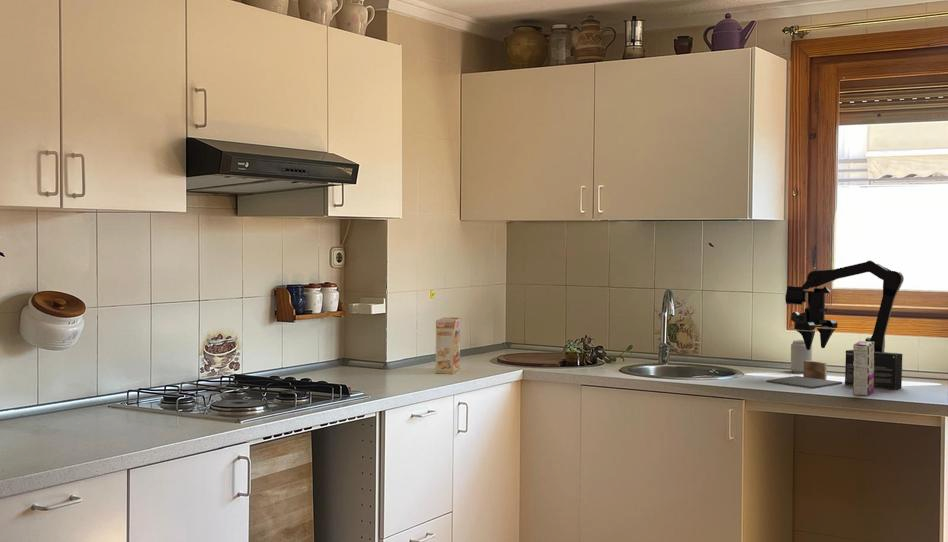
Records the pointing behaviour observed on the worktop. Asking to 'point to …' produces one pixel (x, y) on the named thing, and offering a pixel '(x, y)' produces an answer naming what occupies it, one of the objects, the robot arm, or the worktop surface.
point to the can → (799, 356)
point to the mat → (804, 382)
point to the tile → (815, 370)
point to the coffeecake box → (448, 345)
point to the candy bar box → (863, 368)
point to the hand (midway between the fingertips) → (815, 349)
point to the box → (879, 370)
